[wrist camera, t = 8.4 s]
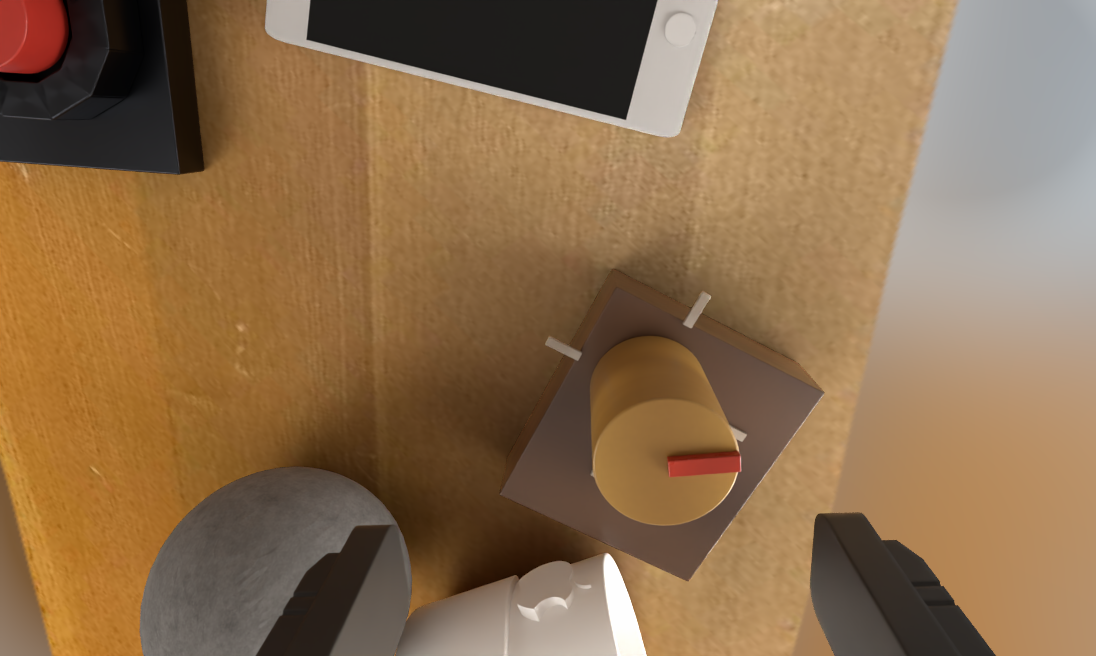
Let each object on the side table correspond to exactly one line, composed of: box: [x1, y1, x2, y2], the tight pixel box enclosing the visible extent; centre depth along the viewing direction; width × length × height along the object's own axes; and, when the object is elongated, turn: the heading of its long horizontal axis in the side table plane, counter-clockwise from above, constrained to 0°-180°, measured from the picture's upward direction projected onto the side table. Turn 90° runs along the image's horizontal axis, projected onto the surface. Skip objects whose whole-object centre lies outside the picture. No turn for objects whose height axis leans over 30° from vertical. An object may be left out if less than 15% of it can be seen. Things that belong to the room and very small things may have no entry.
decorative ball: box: [140, 467, 412, 656], centre depth 26 cm, size 10×10×10 cm
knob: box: [590, 336, 741, 526], centre depth 21 cm, size 4×4×6 cm
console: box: [500, 269, 824, 581], centre depth 26 cm, size 11×10×3 cm
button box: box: [0, 0, 204, 175], centre depth 22 cm, size 10×8×4 cm
